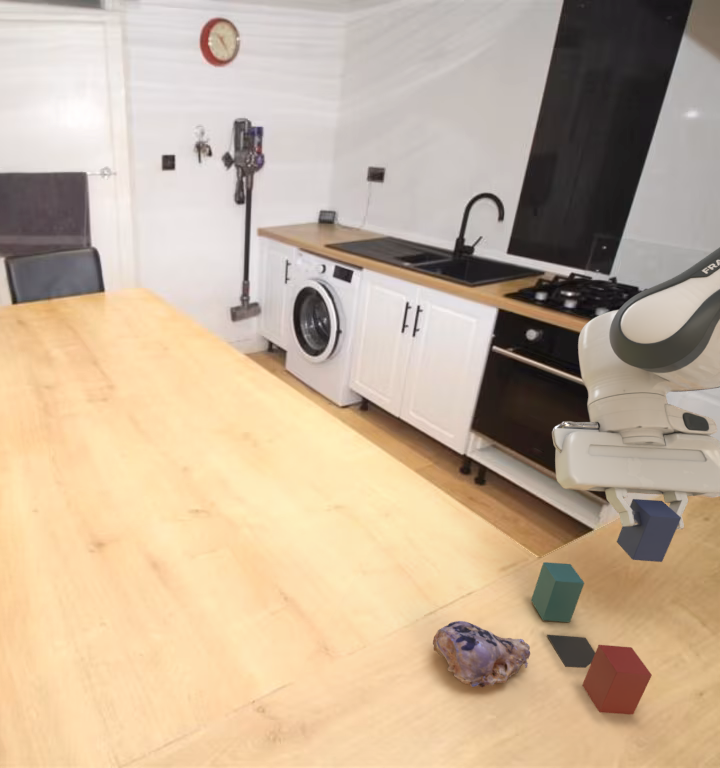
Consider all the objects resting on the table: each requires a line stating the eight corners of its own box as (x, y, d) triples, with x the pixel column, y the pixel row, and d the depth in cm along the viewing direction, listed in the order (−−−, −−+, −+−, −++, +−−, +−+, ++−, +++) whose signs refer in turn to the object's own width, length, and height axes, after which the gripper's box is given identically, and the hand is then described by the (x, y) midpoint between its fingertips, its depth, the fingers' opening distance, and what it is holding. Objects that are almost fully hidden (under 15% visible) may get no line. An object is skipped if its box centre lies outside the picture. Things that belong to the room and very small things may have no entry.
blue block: (644, 543, 73) (662, 500, 70) (662, 562, 69) (681, 517, 66) (616, 541, 73) (632, 498, 70) (632, 560, 70) (650, 515, 67)
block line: (561, 602, 77) (575, 564, 74) (637, 719, 61) (658, 675, 58) (526, 599, 77) (538, 561, 74) (592, 714, 61) (611, 671, 59)
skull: (513, 639, 71) (525, 606, 68) (545, 696, 64) (560, 663, 61) (421, 639, 71) (429, 606, 68) (443, 696, 64) (453, 663, 61)
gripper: (562, 413, 72) (580, 519, 67) (729, 420, 70) (760, 530, 65) (538, 427, 78) (554, 525, 73) (692, 434, 76) (718, 536, 71)
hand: (653, 527), depth 69 cm, fingers closed on blue block, 3 cm apart
